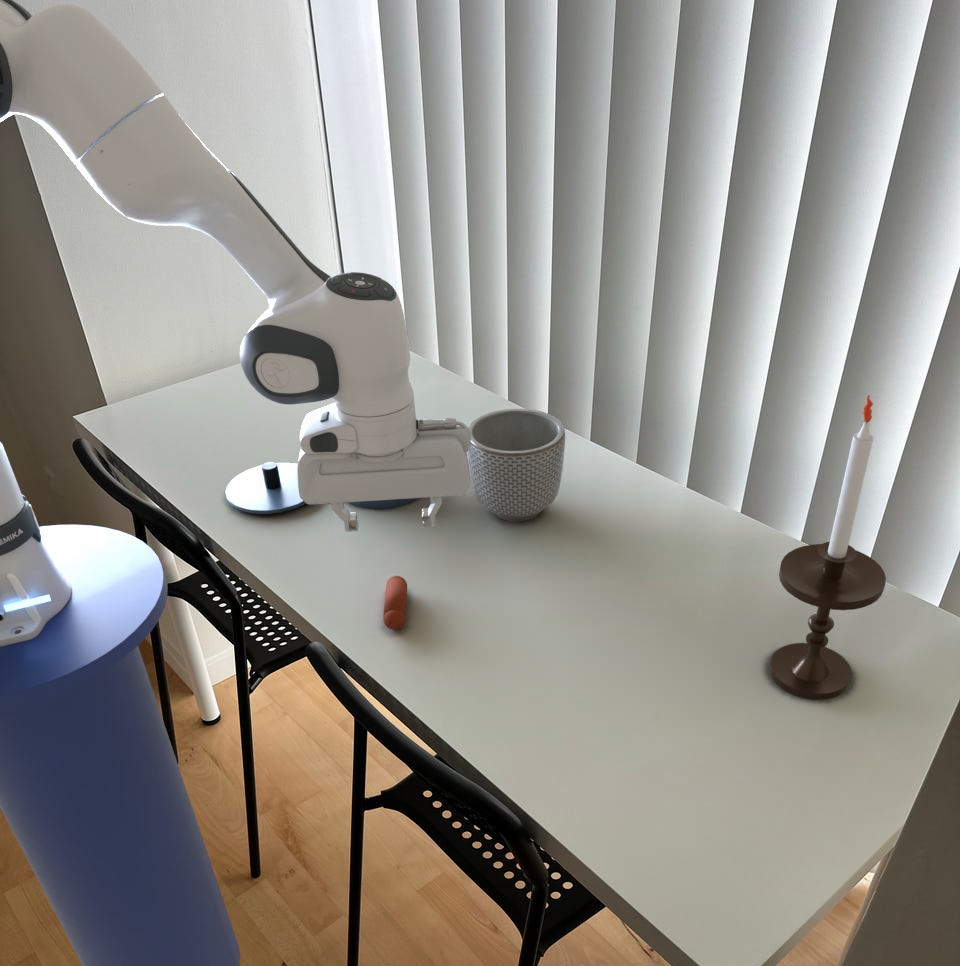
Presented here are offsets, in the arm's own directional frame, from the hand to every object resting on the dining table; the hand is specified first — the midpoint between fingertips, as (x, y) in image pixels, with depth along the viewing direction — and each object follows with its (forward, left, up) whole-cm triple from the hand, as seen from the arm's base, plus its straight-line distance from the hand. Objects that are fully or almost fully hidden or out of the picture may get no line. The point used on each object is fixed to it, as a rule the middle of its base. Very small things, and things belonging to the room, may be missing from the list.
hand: (390, 526), depth 119 cm
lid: (-2, +38, -12) cm, 39 cm away
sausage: (0, 0, -12) cm, 12 cm away
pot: (+13, +30, -13) cm, 34 cm away
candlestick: (+34, -38, -13) cm, 53 cm away
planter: (+26, +12, -13) cm, 31 cm away
